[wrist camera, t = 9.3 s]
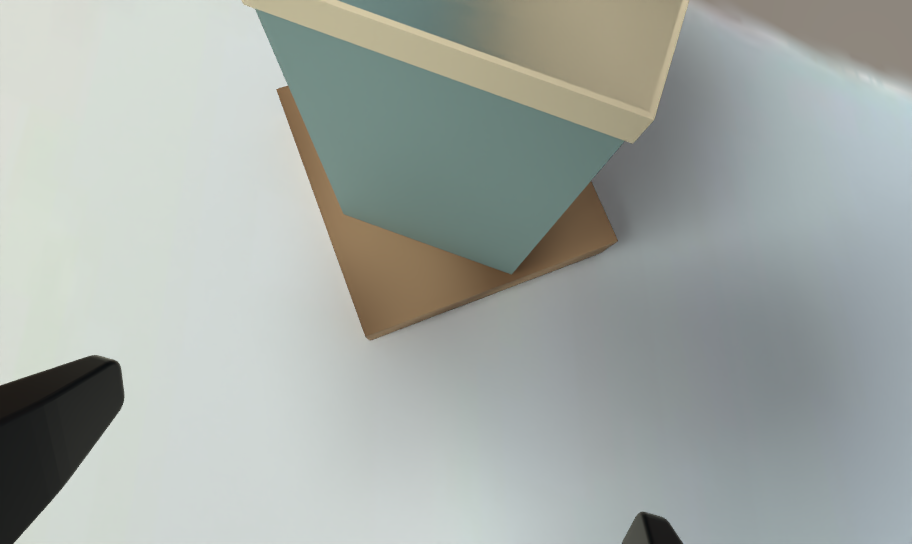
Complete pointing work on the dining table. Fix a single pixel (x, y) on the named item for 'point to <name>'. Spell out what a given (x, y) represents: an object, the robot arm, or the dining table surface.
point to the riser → (432, 253)
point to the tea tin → (471, 107)
